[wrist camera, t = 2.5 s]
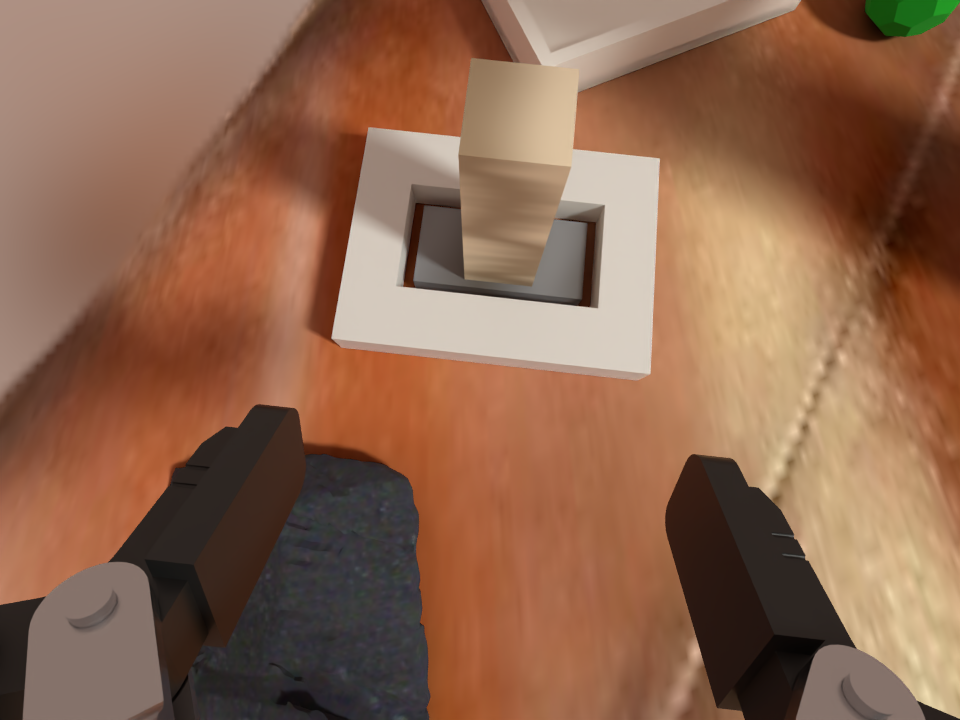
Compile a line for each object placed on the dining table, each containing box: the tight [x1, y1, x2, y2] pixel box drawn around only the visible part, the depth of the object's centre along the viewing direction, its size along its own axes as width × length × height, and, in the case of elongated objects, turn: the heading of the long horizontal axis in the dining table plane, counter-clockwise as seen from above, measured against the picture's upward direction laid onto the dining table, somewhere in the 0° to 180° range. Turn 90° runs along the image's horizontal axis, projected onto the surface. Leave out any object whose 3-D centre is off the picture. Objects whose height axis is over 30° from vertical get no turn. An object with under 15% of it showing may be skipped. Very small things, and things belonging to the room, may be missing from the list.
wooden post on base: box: [413, 58, 587, 306], centre depth 22 cm, size 9×4×12 cm, turn 84°
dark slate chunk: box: [170, 454, 430, 720], centre depth 22 cm, size 15×22×5 cm
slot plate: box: [331, 127, 660, 381], centre depth 27 cm, size 16×12×2 cm
